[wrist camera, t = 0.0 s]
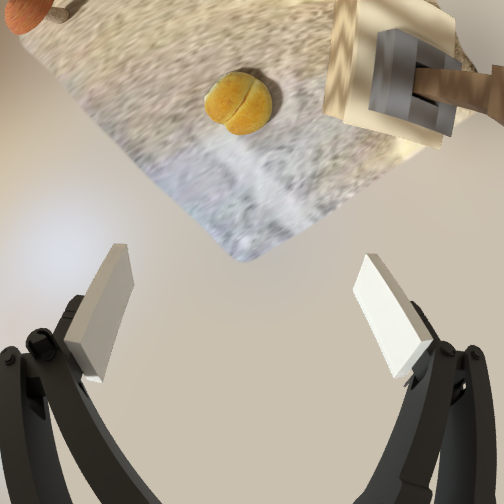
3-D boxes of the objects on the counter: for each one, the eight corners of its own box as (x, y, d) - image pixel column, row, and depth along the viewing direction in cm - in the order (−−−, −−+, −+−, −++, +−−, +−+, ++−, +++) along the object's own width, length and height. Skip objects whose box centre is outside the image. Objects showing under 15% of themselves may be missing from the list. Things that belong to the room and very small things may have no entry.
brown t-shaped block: (395, 60, 23) (511, 67, 9) (424, 72, 23) (535, 92, 9) (391, 93, 25) (505, 121, 11) (419, 103, 26) (529, 140, 11)
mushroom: (96, 11, 23) (41, -11, 10) (59, 47, 25) (-3, 45, 12) (75, -13, 19) (22, -34, 6) (40, 23, 21) (-19, 16, 8)
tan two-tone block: (333, -7, 25) (377, -38, 13) (415, 24, 26) (474, 17, 14) (319, 114, 36) (362, 130, 24) (401, 134, 37) (458, 159, 26)
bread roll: (247, 143, 38) (249, 148, 35) (196, 107, 34) (192, 109, 31) (284, 100, 35) (290, 101, 31) (233, 62, 31) (233, 59, 28)
